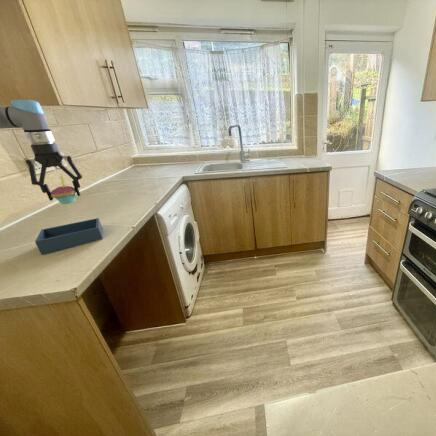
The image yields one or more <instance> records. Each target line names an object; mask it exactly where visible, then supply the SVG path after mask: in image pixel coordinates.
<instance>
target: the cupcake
mask: <svg viewBox="0 0 436 436" xmlns="http://www.w3.org/2000/svg"><path fill="white" fill-rule="evenodd" d="M59 177H60V179H61V184H62V186H58V187H56V188H54V189H52V190H50V192H51V197H52V198H53V199H56V200H57V201H58V202H59V203H60V204H61V205H67V204H72V203H75V202H76V194H77V193H76V190H75V188H74V186H70V185H65V181H64V177H63V176H62V174H60V176H59Z"/></svg>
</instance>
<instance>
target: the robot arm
mask: <svg viewBox="0 0 436 436" xmlns="http://www.w3.org/2000/svg"><path fill="white" fill-rule="evenodd" d="M10 103H11V105H7V106H3V105H1V106H0V129H1V130H3V129H22V130H23V132H24V135H25V137H26V139H27V141H28V143H29V144H31V145H30V148H31V150H32V152H33V155H34V158H31V159H30V158H28V159H26V160H25V163H26V164H27V166H28V170H29V175H30V181H31V185H33V186H39V189H40V190H41V192H42V193H43V194H46V196H47V197H48V199H49V201H50V202H51V201H53V200H54V198H52V197H51V190H50V188H49V185H48V184H47V183H45V179H46V173H47V169H48V168H52V167H54V168H56V167H58V168H59V169H61V170H62V171H63V172H64V173H65V174H66V175H67V176H68V177H69V178H71V179H72V181H71V183H72V185H73V188H75V190H76V193H75V194H76V195H77V196H78V197H80V196H81V192H80V188H81V183H80V180H81V179H82V178H83V174H81V172H80V170H79V169H78V167H77V166H76V164H75V163H74V161H73V158H72V156H71V155H62V154H61V151H60V149H59V148H58V145H57V143H55V142H56V140H55V137H54V135H53V133H52V130H51V128H50V125H49V123H48V120H47V118H46V115H45V112H44V109H43V108H42V106H41V104H40V102H38V100H35V99H13V100H11V102H10ZM63 160H65V162H67V163H68V165H69V166H70V167H71V169H72V171H73V172H72V171H70V170H69V169H68V168H67V167H66V166H65V164H63V163H62V161H63ZM36 162H37V164H39V165H41V167H40V173H39V180H38V178H37V172H36V167H35V165H36ZM74 173H75V174H74Z"/></svg>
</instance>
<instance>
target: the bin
mask: <svg viewBox="0 0 436 436" xmlns="http://www.w3.org/2000/svg"><path fill="white" fill-rule="evenodd" d="M103 231H104V228H103V225H102V223H101V220H100V218H99V217H96V218H92V219H91V218H90V219H87V220H82V221H76V222H73V223H67V224H63V225H62V224H61V225H57V226H53V227H52V226H51V227H48V228H43V229H40V232H39V233H38V235H37V237H36V239H35V240H34V243H35V245H36V246H37V249H38V251H39V252H40V255H46V254H51V253H55V252H57V251H63V250H67V249H71V248H75V247H79V246H83V245H86V244H91V243H94V242H98V241H102V240H103V239H104V238H103V237H104V235H103V234H104V232H103Z"/></svg>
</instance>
